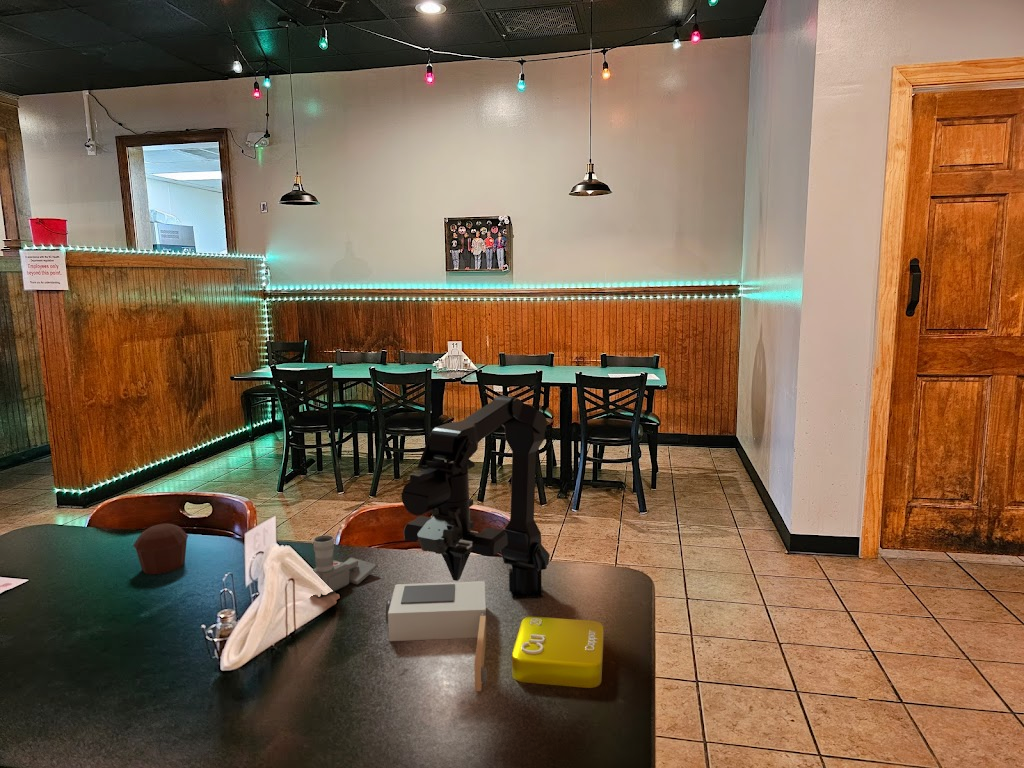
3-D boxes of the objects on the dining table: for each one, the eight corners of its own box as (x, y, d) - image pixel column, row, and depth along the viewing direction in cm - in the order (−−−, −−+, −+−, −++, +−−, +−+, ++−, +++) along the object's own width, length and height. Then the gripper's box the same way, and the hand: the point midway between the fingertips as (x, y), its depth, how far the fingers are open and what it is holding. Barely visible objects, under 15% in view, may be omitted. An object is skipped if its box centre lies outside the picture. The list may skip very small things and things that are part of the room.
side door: (481, 635, 122) (480, 612, 121) (490, 635, 122) (490, 612, 121) (474, 691, 105) (474, 665, 104) (486, 691, 105) (485, 665, 104)
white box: (485, 606, 134) (484, 579, 133) (486, 637, 122) (485, 608, 121) (391, 610, 133) (390, 583, 132) (383, 641, 121) (382, 612, 120)
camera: (297, 539, 140) (349, 519, 153) (300, 591, 142) (351, 567, 154) (325, 547, 136) (376, 526, 148) (327, 601, 137) (378, 576, 150)
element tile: (601, 691, 106) (601, 664, 105) (509, 683, 108) (509, 656, 108) (603, 642, 121) (603, 618, 120) (523, 636, 123) (522, 612, 122)
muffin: (158, 555, 162) (155, 517, 160) (200, 557, 160) (196, 518, 159) (124, 576, 150) (120, 534, 149) (168, 578, 149) (164, 536, 147)
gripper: (382, 504, 113) (387, 589, 115) (475, 520, 104) (479, 611, 107) (419, 485, 122) (423, 563, 125) (507, 498, 114) (510, 582, 117)
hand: (456, 579), depth 118 cm, fingers closed
